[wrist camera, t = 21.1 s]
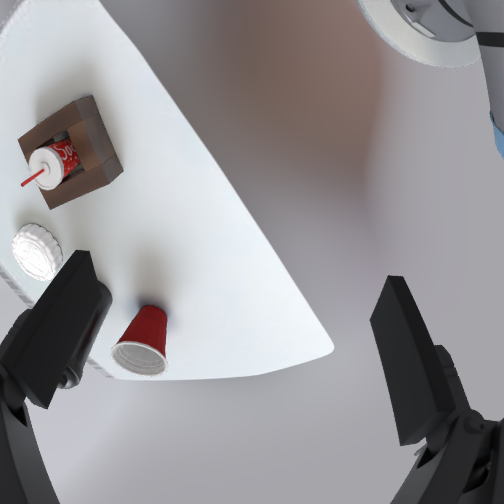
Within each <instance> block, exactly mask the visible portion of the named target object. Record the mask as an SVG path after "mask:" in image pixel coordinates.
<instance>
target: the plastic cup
mask: <svg viewBox="0 0 504 504" xmlns="http://www.w3.org/2000/svg"><path fill="white" fill-rule="evenodd" d="M166 327H167V316H166V314H165V313H164V311H163V310H161V309H160V308H158V307H155V306H149V305H147V306H144V307H143V308H142V309H141V310H140V311H139V312H138V314H137V315H136V317H135V318H134V319H133V320H132V322H131V323H130V325H129V326H128V328H127V329H126V331H125V332H124V334H123V335H122V337H121V338H120V339H119V341H118V342H117V343H116V344H115V345H114V346H113V347H112V349H111V357H112V359H113V361H114V362H115V363H116V364H117V365H118V366H120V367H121V368H122V369H124V370H126V371H128V372H130V373H133V374H137V375H140V376H150V377H153V376H158V375H162V374H163V373H164V372H166V371H167V368H168V363H167V361H166V356H165V345H166V332H167V331H166Z"/></svg>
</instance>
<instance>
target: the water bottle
mask: <svg viewBox="0 0 504 504" xmlns="http://www.w3.org/2000/svg"><path fill="white" fill-rule="evenodd" d="M98 284H99V287H100V291H101V294H102V299H101V301H100V302H99V304H98V306H97V308H96V310H95V311H94V313H93V315H92V317H91V319H90V321H89V323H88V325H87V326H86V328H85V330H84V332H83V334H82V336H81V338H80V340H79V342H78V344H77V346H76V348H75V350H74V352H73V354H72V356H71V358H70V360H69V362H68V364H67V367H66V369H65V371H64V373H63V375H62V377H61V379H60V382H59V384H58V386H57V388H60V389H69V388H72V387H74V386H76V385H78V384H79V382H80V380H81V377H82V373H83V367H84V365H85V362H86V360H87V358H88V355H89V353H90V351H91V348H92V346H93V344H94V341H95V339H96V337H97V334H98V332H99V330H100V328H101V325H102V323H103V321H104V319H105V317H106V314H107V312H108V310H109V308H110V306H111V304H112V295H111V293H110V291H109V290H108V288H107V287H106V286H105V285H104V284H102V283H101V282H100V281H98Z"/></svg>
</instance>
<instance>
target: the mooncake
mask: <svg viewBox="0 0 504 504" xmlns="http://www.w3.org/2000/svg"><path fill="white" fill-rule="evenodd" d="M13 240H14V241H13V242H12V246H13V253H14V254H15V258H16V260H17V261H18V263H19V265H20V266H21V268H22V269H23V270H24V271H25V272H26V273H27V274H29V275H30V276H31V277H35V278H36V279H37V280H42V281H46V280H51V279H52V278H54V277H55V275H56V274H57V273H58V271H59V270H60V268H61V266H62V264H63V262H62V258H63V256H62V254H61V253H60V252H61V249H60V247H59V246H58V245H57V241H56V240H55V239H54V238H52V235H51V233H49V232H46V230H45V229H44V228H43V227H39V226H38V225H36V224H35V225H32V224H28V225H27V226H24V227H22V228H21V229H20V230H19V231H18V232H17V233H16V235H15V236H14V237H13Z"/></svg>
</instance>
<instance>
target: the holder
mask: <svg viewBox="0 0 504 504" xmlns="http://www.w3.org/2000/svg"><path fill="white" fill-rule="evenodd" d="M65 131H68V134H69V136H70V139H71V141H72V143H73V146H74V148H75V150H76V153H77V155H78V157H79V159H80V162H81V164H82V166H83V168H84V169H82V170H80V171H78V172H76V173H74V174H72V175H69V173H68V174H67V175H66V176H65V177H64V178H63V179H62V181H61V183H59V184H58V185H57V186H56V187H55V188H54V189H51V190H45V189H41V188H40V187H39V186H38V187H39V189H40V191H41V193H42V195H43V197H44V199H45V201H46V203H47V205H48V207H49V209H50V210H51V209H53V208H55V207H58V206H60V205H62V204H64V203H66V202H68V201H71V200H73V199H75V198H77V197H80V196H82V195H84V194H87V193H89V192H91V191H94V190H96V189H98V188H101V187H103V186H106V185H108V184H110V183H111V182H112V181H113V180H114V179H115V178H116V177H118V176H119V175H120V174H121V173H122V172H123V169H122V167H121V165H120V162H119V160H118V158H117V155H116V153H115V151H114V148H113V146H112V144H111V141H110V139H109V136H108V134H107V132H106V129H105V127H104V124H103V122H102V119H101V117H100V114H99V112H98V109H97V107H96V104H95V101H94V99H93V96H88V97H85V98H82V99H79V100H76V101H73V102H72V103H70V104H68V105H67V106H65V107H64V108H62V109H60V110H59V111H57V112H56V113H54V114H53V115H51V116H50V117H48V118H47V119H45V120H44V121H42V122H41V123H40V124H38V125H37V126H35V127H34V128H33V129H31V130H30V131H28V132H27V133H26V134H24V135H23V136H22V137H20V138H19V139H18V142H19V144H20V147H21V149H22V152H23V154H24V156H25V159H26V161H27V163H28V166H29V160H30V157H31V155H32V154H33V152H34V151H35V150H37V149H39V148H42V147H48V146H50V145H52V144H55V142H54V138H55V137H57V136H59V135H60V134H62V133H64V132H65Z"/></svg>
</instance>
